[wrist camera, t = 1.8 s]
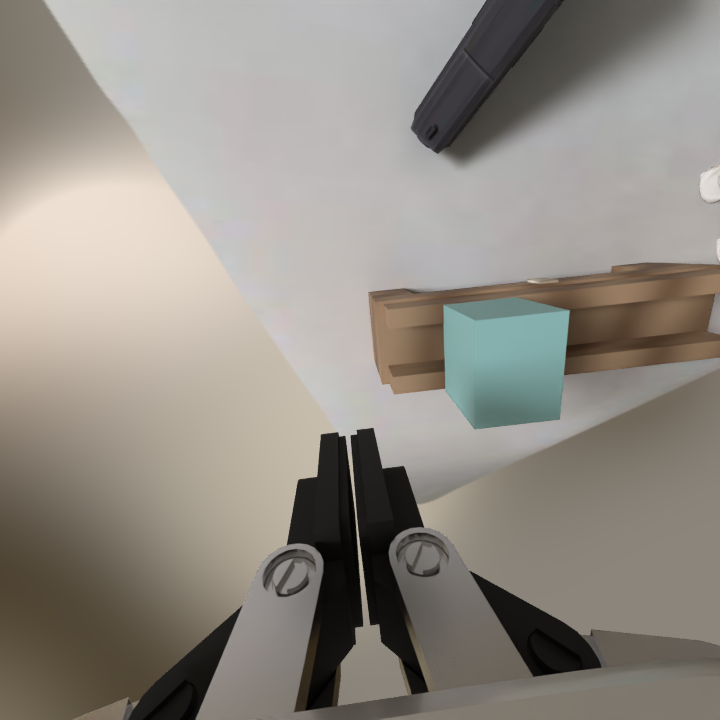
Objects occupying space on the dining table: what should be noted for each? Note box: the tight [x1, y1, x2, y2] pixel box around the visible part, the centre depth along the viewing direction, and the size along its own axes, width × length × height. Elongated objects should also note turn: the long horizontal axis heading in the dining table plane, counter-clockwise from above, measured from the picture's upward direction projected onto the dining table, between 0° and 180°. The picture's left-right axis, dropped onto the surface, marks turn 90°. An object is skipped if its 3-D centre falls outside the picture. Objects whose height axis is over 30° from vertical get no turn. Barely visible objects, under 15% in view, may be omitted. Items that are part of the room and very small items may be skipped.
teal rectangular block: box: [443, 297, 570, 429], centre depth 20 cm, size 4×6×8 cm
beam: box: [368, 263, 720, 394], centre depth 26 cm, size 24×6×8 cm, turn 96°
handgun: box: [411, 0, 564, 154], centre depth 21 cm, size 4×16×12 cm
